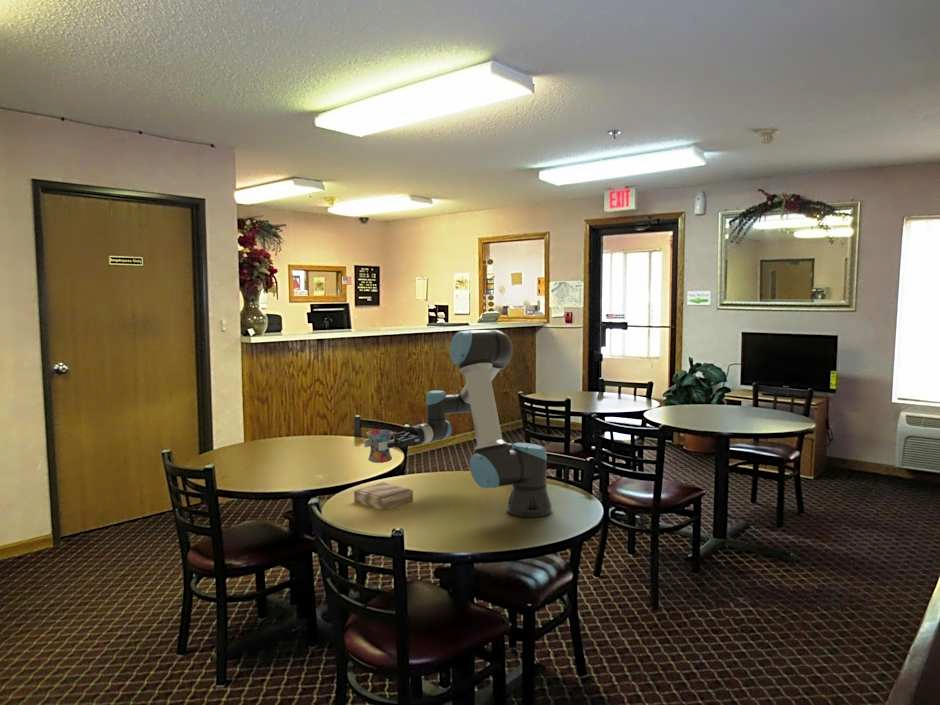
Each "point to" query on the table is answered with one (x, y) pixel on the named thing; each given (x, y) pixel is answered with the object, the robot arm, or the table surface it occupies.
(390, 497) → the block
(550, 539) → the table surface
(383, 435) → the mug
